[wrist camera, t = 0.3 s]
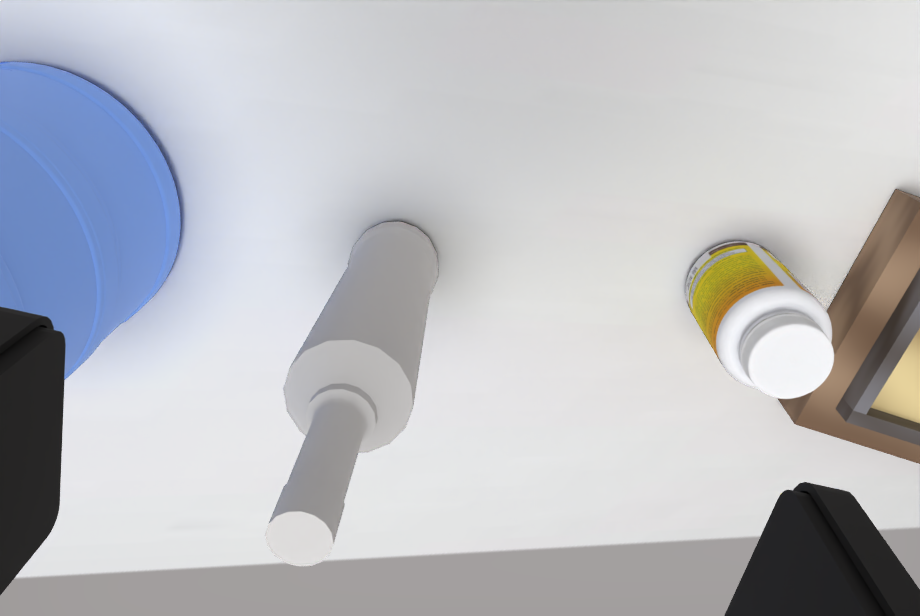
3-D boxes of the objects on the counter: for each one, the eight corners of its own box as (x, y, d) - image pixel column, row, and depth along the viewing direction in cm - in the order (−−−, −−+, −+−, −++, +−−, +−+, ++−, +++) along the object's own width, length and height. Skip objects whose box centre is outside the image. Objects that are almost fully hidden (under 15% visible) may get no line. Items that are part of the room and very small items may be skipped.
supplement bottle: (667, 310, 47) (709, 394, 38) (708, 225, 45) (764, 291, 36) (753, 338, 48) (816, 428, 38) (797, 255, 46) (876, 329, 36)
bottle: (458, 268, 47) (421, 555, 24) (390, 316, 48) (292, 631, 25) (403, 199, 45) (306, 434, 22) (334, 251, 47) (176, 522, 24)
